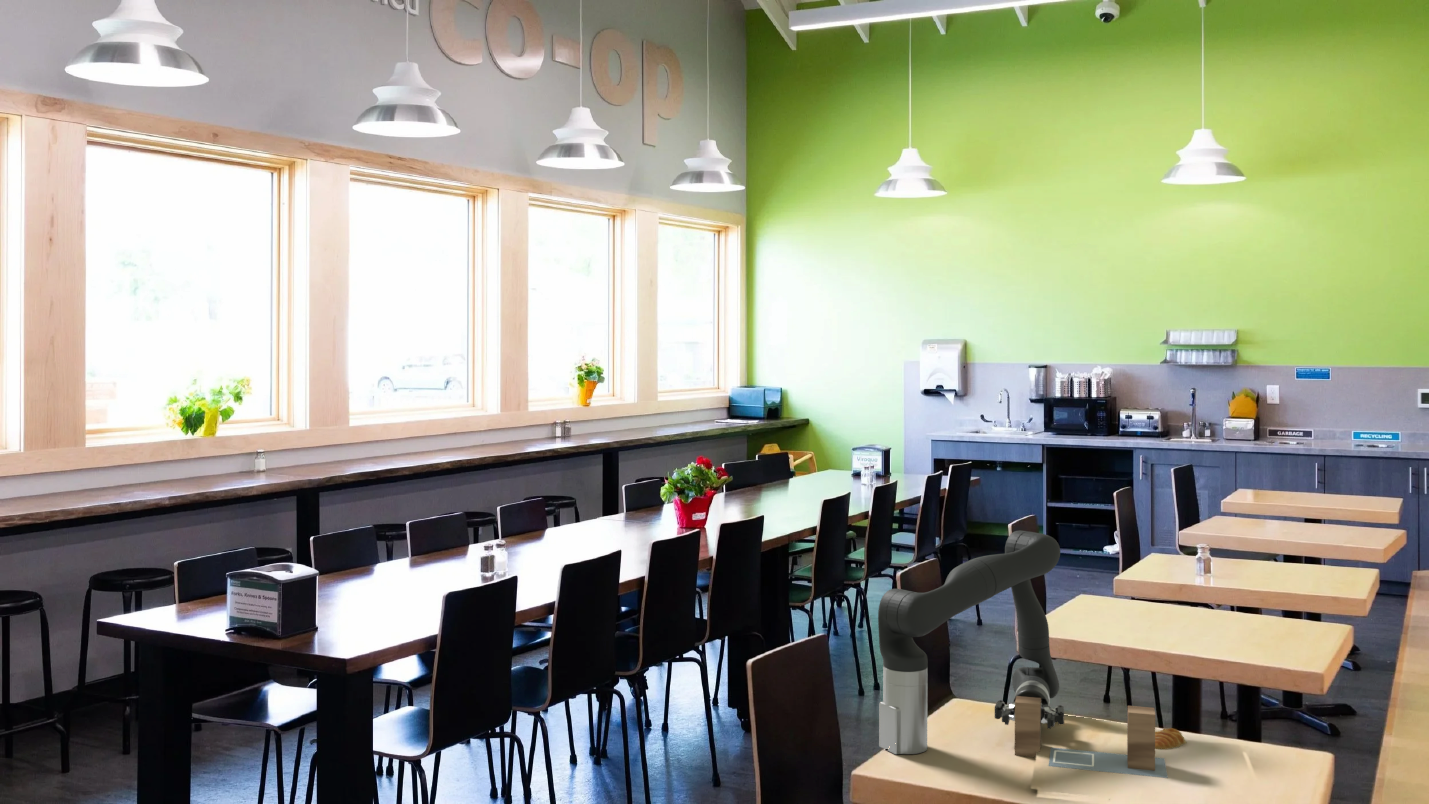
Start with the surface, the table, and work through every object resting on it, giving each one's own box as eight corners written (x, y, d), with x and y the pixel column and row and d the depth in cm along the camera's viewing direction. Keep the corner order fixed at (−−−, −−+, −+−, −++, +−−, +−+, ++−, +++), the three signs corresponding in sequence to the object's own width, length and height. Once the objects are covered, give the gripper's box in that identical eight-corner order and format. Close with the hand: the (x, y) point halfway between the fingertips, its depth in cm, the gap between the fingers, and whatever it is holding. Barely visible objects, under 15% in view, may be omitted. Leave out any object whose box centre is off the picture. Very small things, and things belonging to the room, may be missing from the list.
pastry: (1168, 758, 237) (1168, 740, 237) (1137, 751, 242) (1137, 733, 242) (1189, 748, 243) (1189, 730, 243) (1158, 741, 248) (1158, 724, 248)
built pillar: (1155, 770, 225) (1155, 714, 225) (1127, 768, 227) (1128, 712, 227) (1153, 762, 230) (1154, 707, 230) (1127, 760, 232) (1127, 705, 231)
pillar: (1039, 757, 237) (1040, 704, 237) (1014, 755, 239) (1014, 702, 238) (1040, 750, 242) (1041, 698, 241) (1016, 747, 243) (1016, 696, 243)
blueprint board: (1167, 784, 221) (1167, 777, 221) (1048, 771, 228) (1048, 765, 228) (1164, 764, 233) (1164, 757, 233) (1050, 753, 240) (1050, 746, 240)
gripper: (998, 681, 257) (992, 701, 242) (1065, 687, 253) (1063, 707, 237) (998, 715, 257) (992, 736, 242) (1065, 721, 253) (1063, 743, 237)
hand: (1027, 722), depth 240 cm, fingers open, 8 cm apart
